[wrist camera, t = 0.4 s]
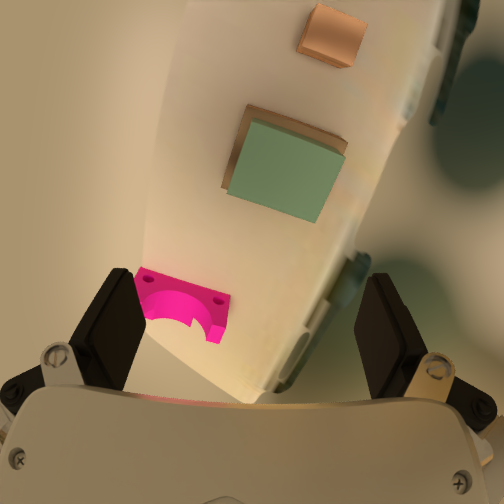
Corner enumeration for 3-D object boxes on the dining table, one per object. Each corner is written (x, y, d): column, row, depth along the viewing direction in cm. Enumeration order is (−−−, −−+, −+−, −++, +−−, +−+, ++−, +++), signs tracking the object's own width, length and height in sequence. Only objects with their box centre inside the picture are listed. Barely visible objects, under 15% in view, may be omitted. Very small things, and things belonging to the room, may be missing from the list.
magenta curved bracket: (136, 294, 49) (122, 324, 43) (140, 266, 46) (124, 296, 40) (220, 320, 51) (214, 353, 45) (230, 294, 48) (226, 328, 42)
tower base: (247, 104, 33) (246, 106, 30) (339, 136, 35) (348, 142, 32) (224, 177, 39) (220, 187, 35) (311, 204, 40) (316, 217, 37)
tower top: (253, 117, 31) (251, 121, 27) (336, 149, 32) (345, 157, 29) (230, 181, 35) (226, 193, 31) (309, 208, 36) (314, 223, 33)
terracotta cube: (310, 13, 27) (318, 2, 22) (353, 31, 27) (367, 24, 23) (296, 51, 29) (301, 45, 25) (339, 68, 30) (352, 66, 25)
